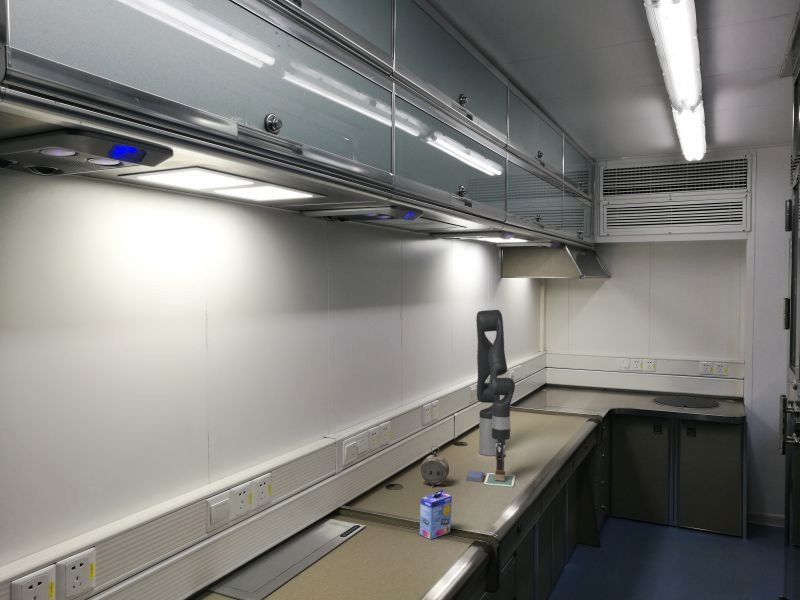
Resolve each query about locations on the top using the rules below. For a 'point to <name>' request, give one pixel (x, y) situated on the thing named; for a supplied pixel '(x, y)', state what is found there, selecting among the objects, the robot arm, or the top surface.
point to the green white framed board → (507, 482)
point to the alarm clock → (434, 469)
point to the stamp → (500, 472)
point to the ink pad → (475, 476)
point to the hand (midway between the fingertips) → (500, 467)
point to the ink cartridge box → (435, 514)
